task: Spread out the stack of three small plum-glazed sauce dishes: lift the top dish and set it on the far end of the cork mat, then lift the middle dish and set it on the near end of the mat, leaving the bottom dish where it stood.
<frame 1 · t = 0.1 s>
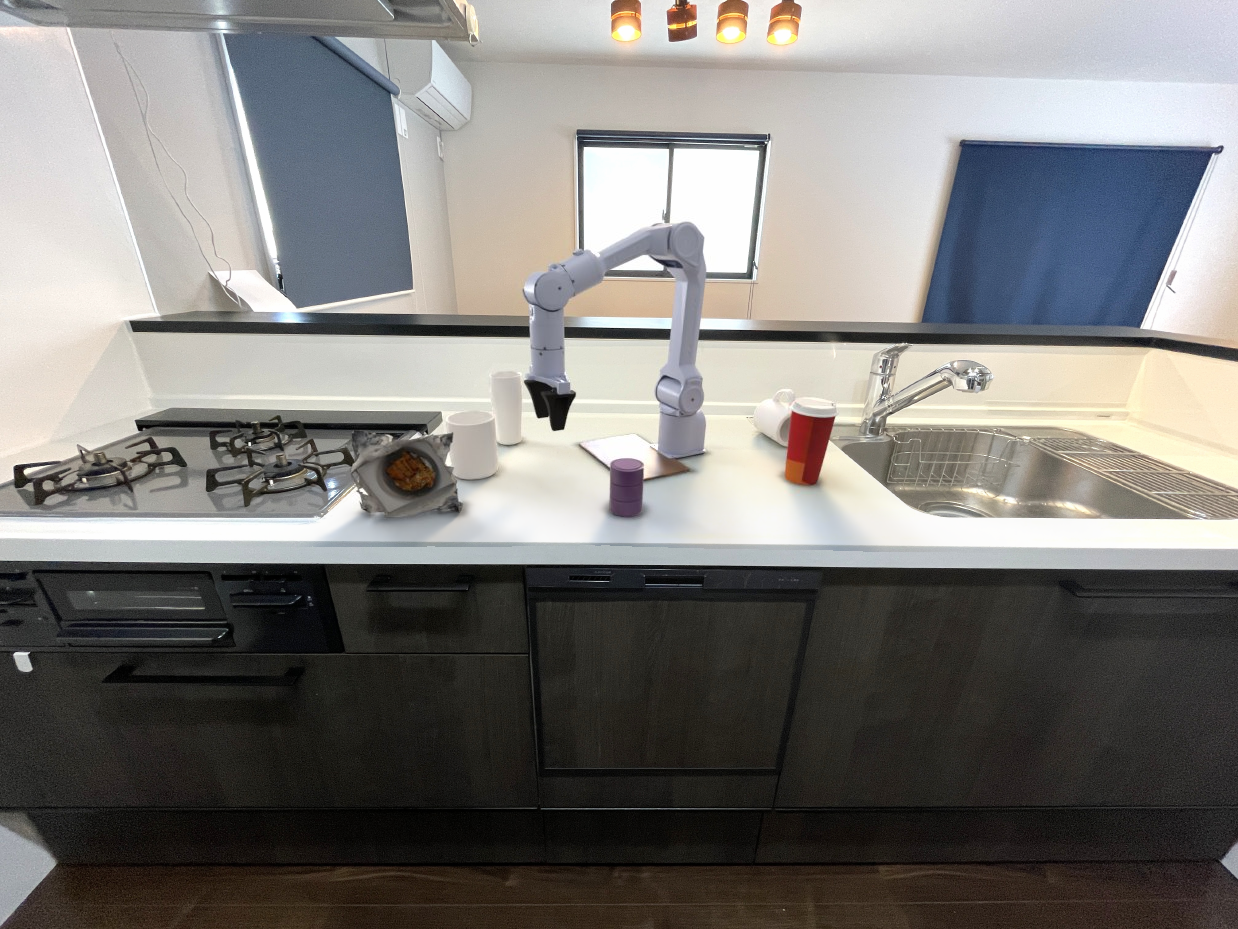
hand: (550, 423, 89), 10 cm above the worktop, tool pointing down, fingers open, 7 cm apart
mug: (475, 468, 95), on the worktop
drinking glass: (509, 442, 108), on the worktop
dish top: (626, 479, 79), point 5 cm above the worktop, touching dish middle
meal: (413, 511, 79), on the worktop
mug 2: (777, 440, 114), on the worktop
dish bottom: (625, 508, 81), on the worktop, touching dish middle
mat: (631, 456, 102), on the worktop
coffee cup: (800, 479, 94), on the worktop
dish middle: (626, 494, 80), point 3 cm above the worktop, touching dish bottom, dish top
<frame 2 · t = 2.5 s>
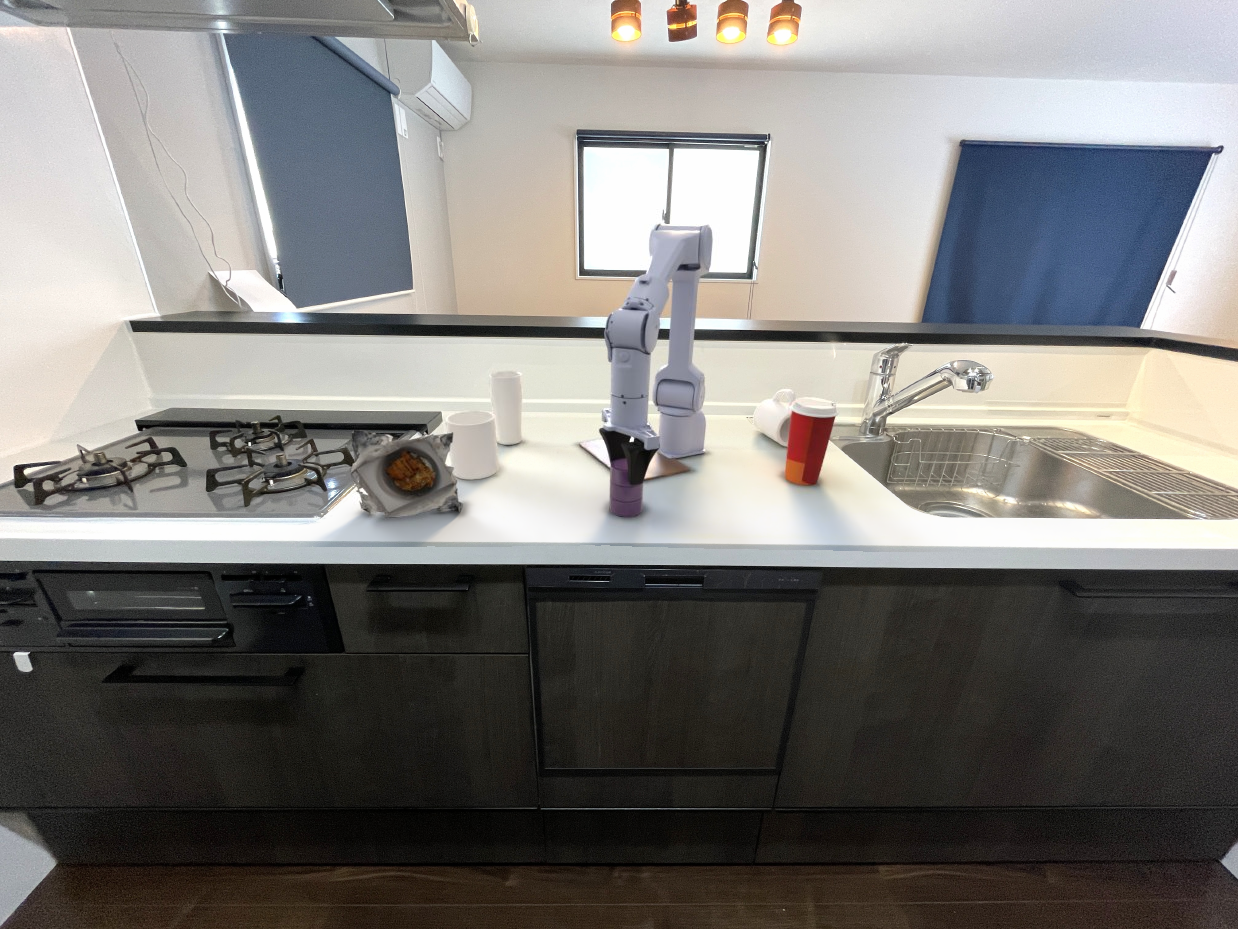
hand: (626, 476, 79), 6 cm above the worktop, tool pointing down, fingers closed on dish top, 5 cm apart
dish top: (626, 479, 79), point 5 cm above the worktop, touching dish middle, gripper
everything else where it was.
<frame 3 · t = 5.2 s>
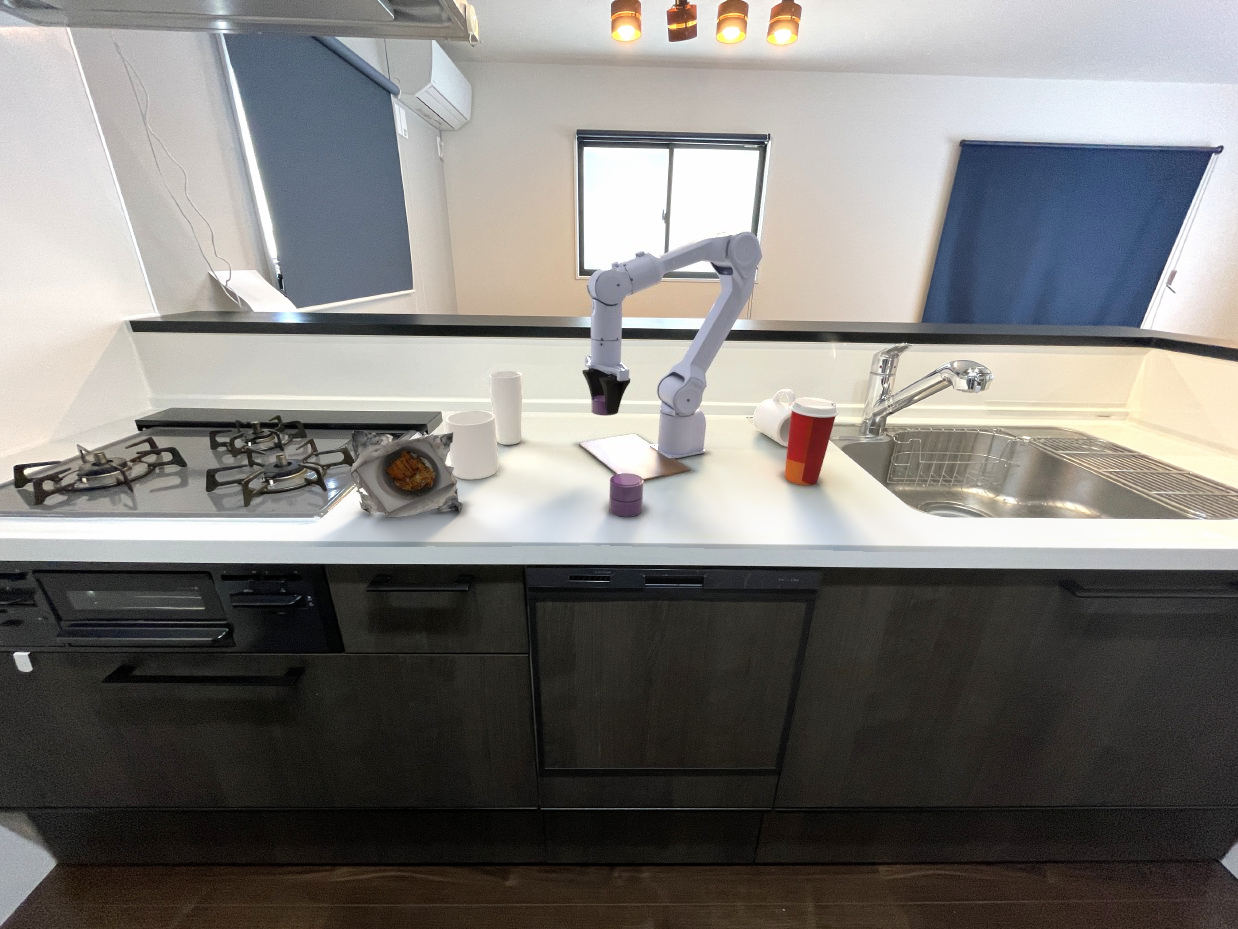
hand: (605, 408, 97), 10 cm above the worktop, tool pointing down, fingers closed on dish top, 5 cm apart
dish top: (604, 411, 97), point 10 cm above the worktop, touching gripper
dish middle: (626, 494, 80), point 3 cm above the worktop, touching dish bottom
everything else where it was.
when the fingers open (1 cm above the worktop, at t = 8.4 s): dish top stays where it is, resting on mat.
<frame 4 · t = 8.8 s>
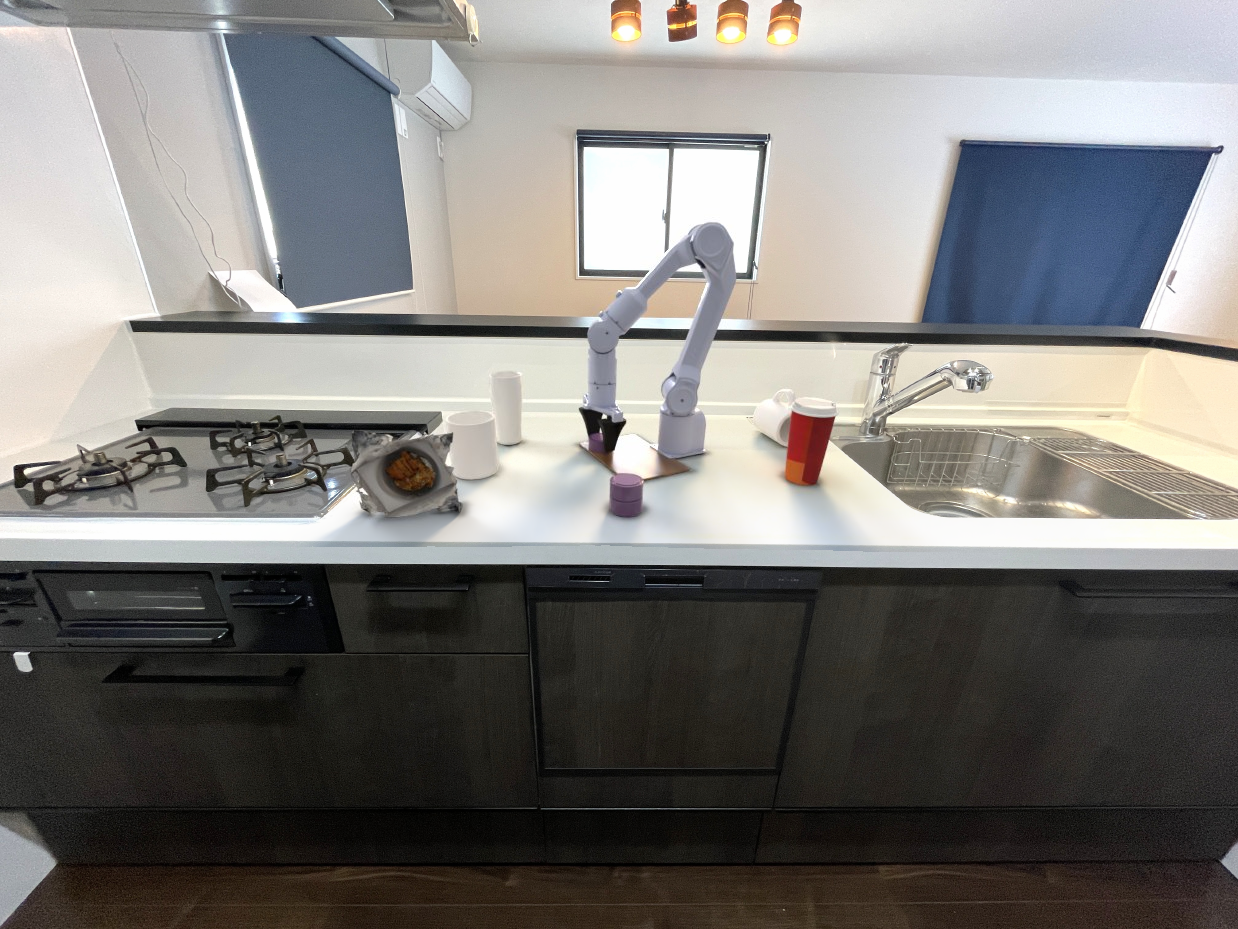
hand: (601, 444, 104), 1 cm above the worktop, tool pointing down, fingers open, 7 cm apart
dish top: (601, 448, 104), resting on mat
everything else where it was.
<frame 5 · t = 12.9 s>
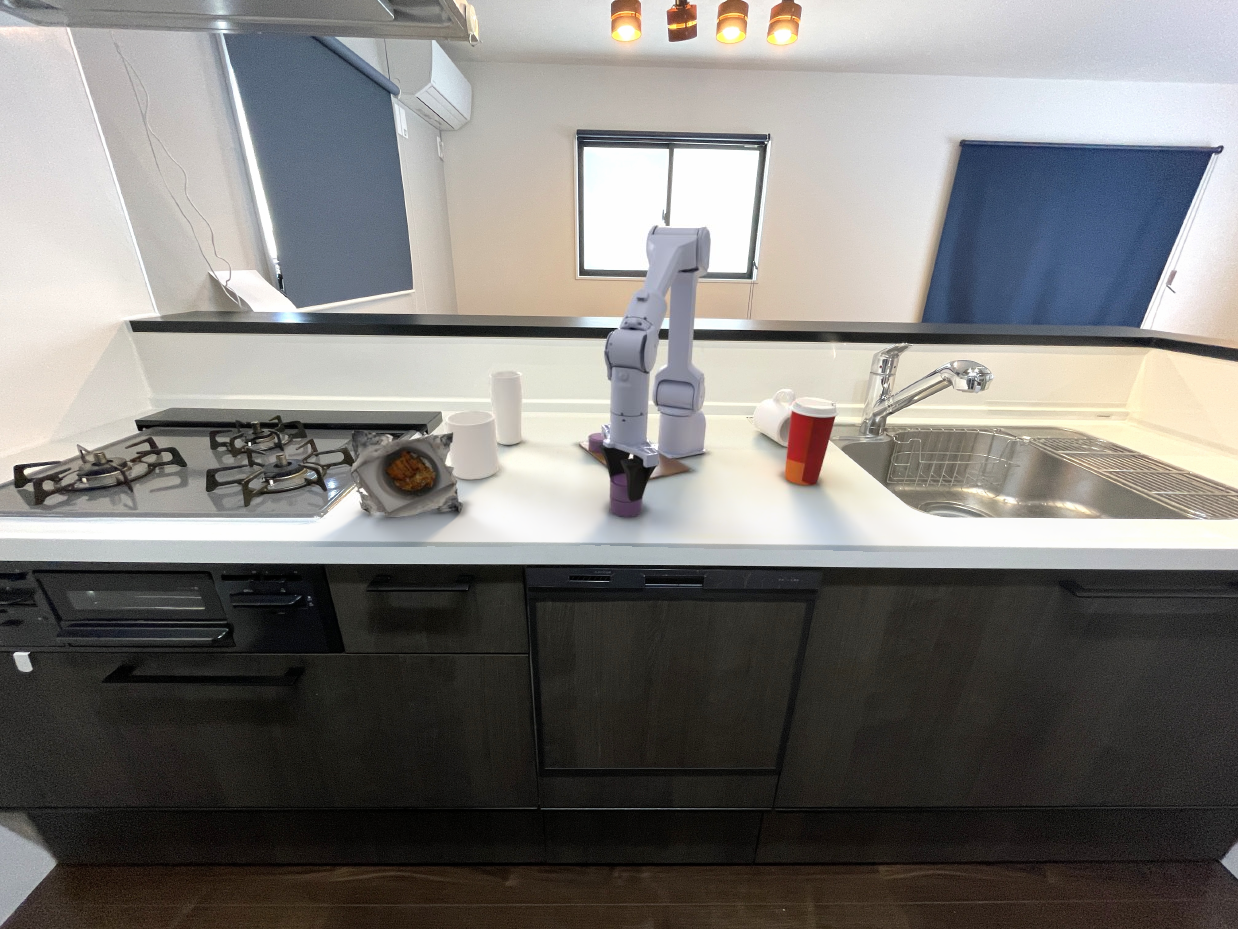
hand: (626, 491, 80), 3 cm above the worktop, tool pointing down, fingers closed on dish middle, 5 cm apart
dish middle: (626, 494, 80), point 3 cm above the worktop, touching dish bottom, gripper
everything else where it was.
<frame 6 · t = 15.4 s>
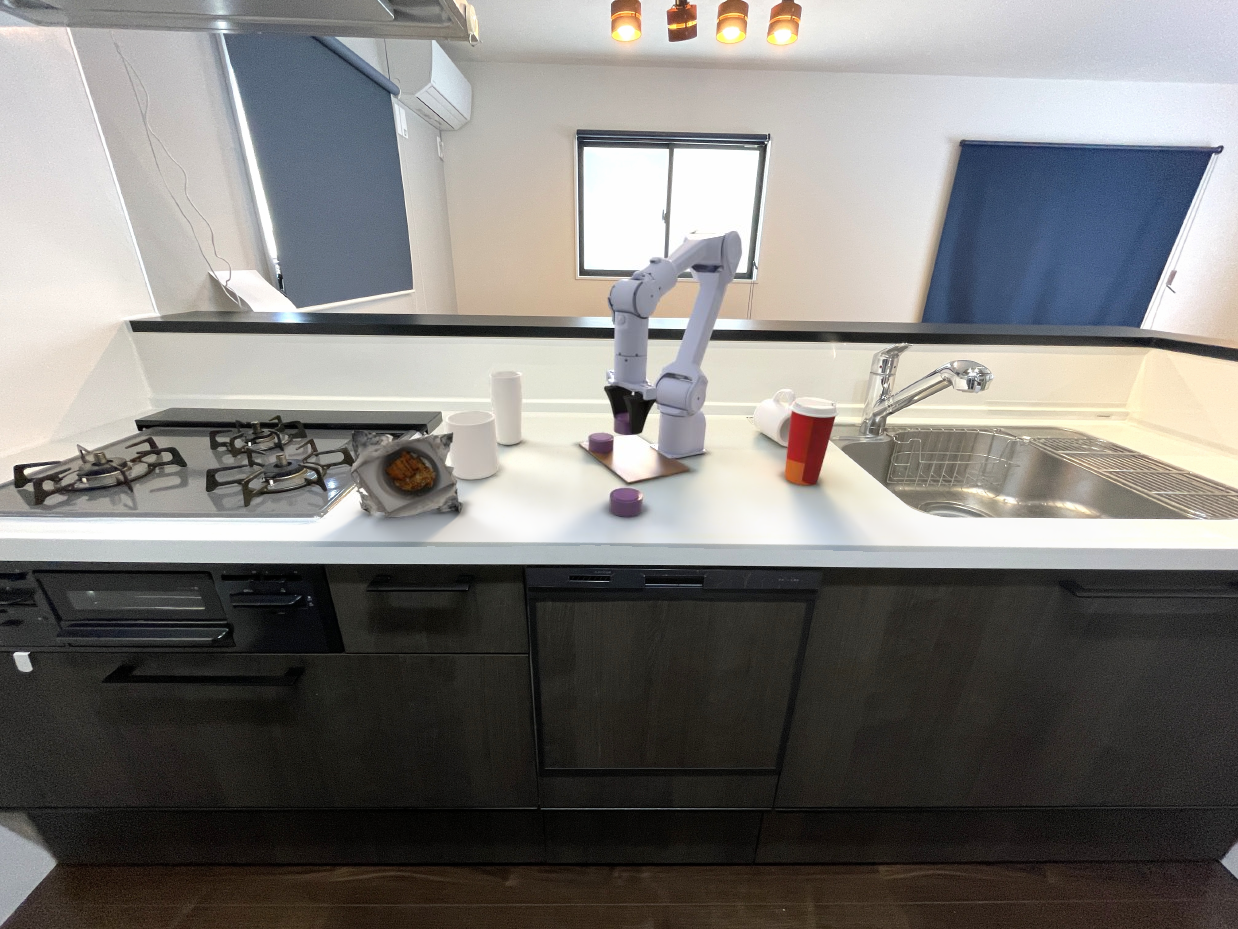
hand: (628, 427, 90), 9 cm above the worktop, tool pointing down, fingers closed on dish middle, 5 cm apart
dish bottom: (625, 508, 81), on the worktop
dish middle: (628, 430, 91), point 9 cm above the worktop, touching gripper
everything else where it was.
when the fingers open (1 cm above the worktop, at t = 18.0 s): dish middle stays where it is, resting on mat.
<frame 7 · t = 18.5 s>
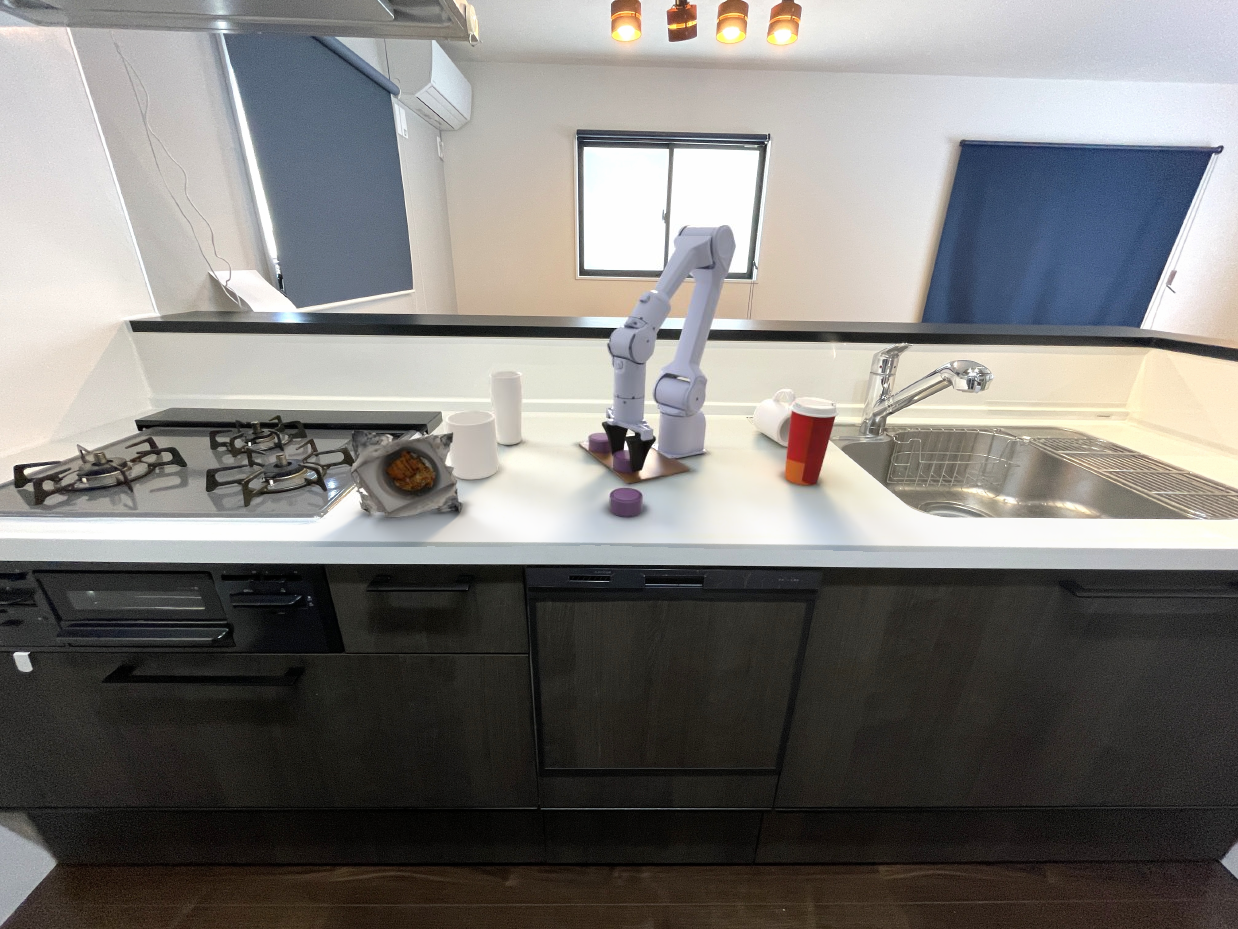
hand: (626, 463, 95), 1 cm above the worktop, tool pointing down, fingers open, 7 cm apart
dish middle: (626, 467, 96), resting on mat
everything else where it was.
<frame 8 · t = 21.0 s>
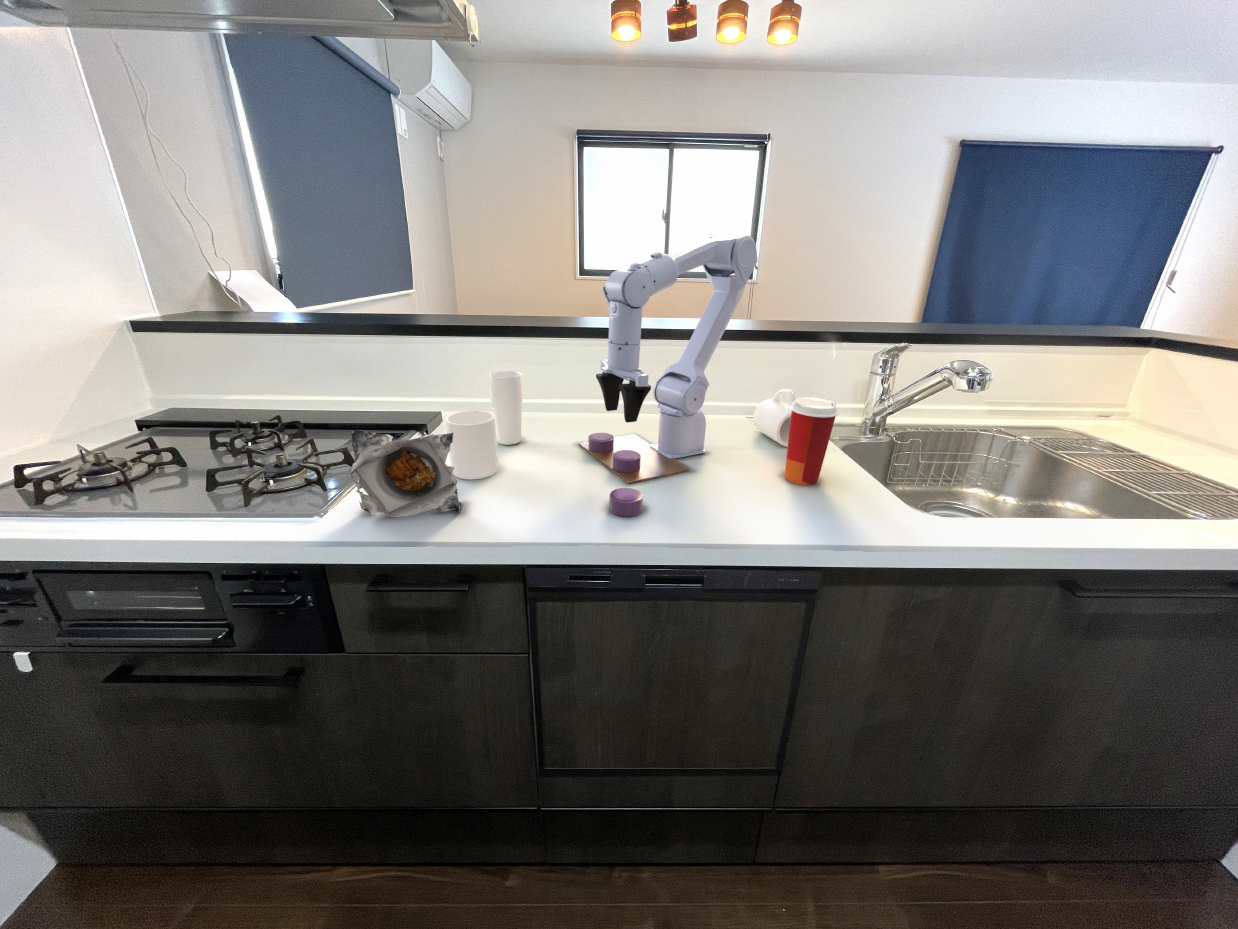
hand: (620, 415, 93), 10 cm above the worktop, tool pointing down, fingers open, 7 cm apart
nothing on the worktop moved.
at the end: dish top 0.1 cm from the target spot on the mat, point 0.4 cm above the mat's base; dish middle 0.0 cm from the target spot on the mat, point 0.4 cm above the mat's base; dish bottom moved 0.0 cm from its start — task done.
